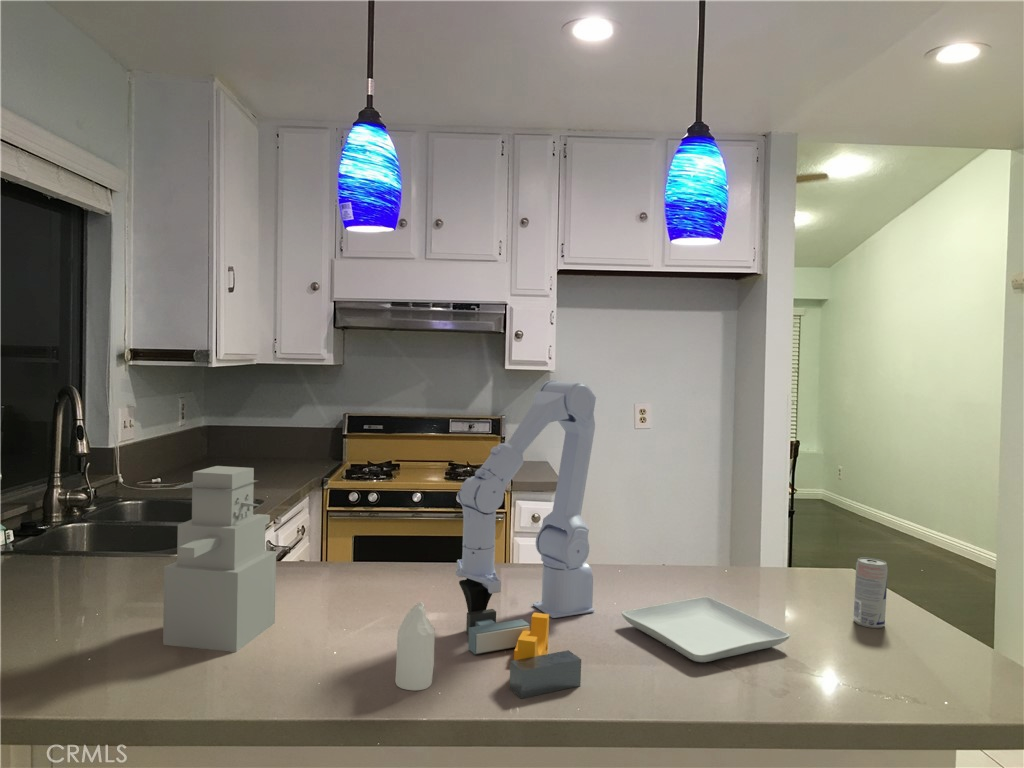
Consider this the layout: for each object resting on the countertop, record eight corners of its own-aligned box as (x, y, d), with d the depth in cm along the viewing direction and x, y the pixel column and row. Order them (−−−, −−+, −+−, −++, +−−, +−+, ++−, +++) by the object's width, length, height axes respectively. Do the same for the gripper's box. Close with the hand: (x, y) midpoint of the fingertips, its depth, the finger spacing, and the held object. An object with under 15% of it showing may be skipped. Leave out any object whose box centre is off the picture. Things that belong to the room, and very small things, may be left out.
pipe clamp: (522, 649, 120) (523, 611, 120) (547, 652, 119) (549, 614, 119) (505, 680, 109) (506, 638, 108) (533, 684, 108) (535, 641, 107)
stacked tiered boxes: (139, 659, 112) (141, 479, 111) (223, 607, 135) (225, 458, 134) (216, 667, 110) (219, 484, 109) (288, 613, 133) (291, 462, 132)
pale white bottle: (390, 598, 107) (425, 593, 110) (389, 678, 108) (423, 670, 111) (407, 611, 102) (443, 605, 105) (405, 694, 103) (440, 685, 106)
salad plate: (697, 675, 113) (698, 654, 113) (617, 628, 132) (618, 609, 132) (793, 653, 123) (794, 633, 122) (706, 612, 141) (706, 595, 141)
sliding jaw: (504, 626, 129) (505, 606, 129) (530, 645, 121) (530, 625, 121) (453, 634, 125) (453, 614, 125) (475, 655, 116) (476, 634, 116)
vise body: (566, 674, 111) (567, 649, 111) (580, 685, 107) (581, 659, 107) (508, 686, 106) (509, 660, 106) (521, 698, 103) (521, 671, 102)
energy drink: (884, 621, 138) (887, 559, 138) (885, 630, 133) (888, 566, 133) (853, 616, 141) (856, 555, 140) (853, 625, 136) (856, 562, 135)
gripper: (442, 537, 132) (440, 610, 133) (475, 558, 119) (472, 639, 120) (477, 534, 135) (475, 605, 136) (512, 554, 123) (510, 632, 123)
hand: (476, 621), depth 128 cm, fingers closed
